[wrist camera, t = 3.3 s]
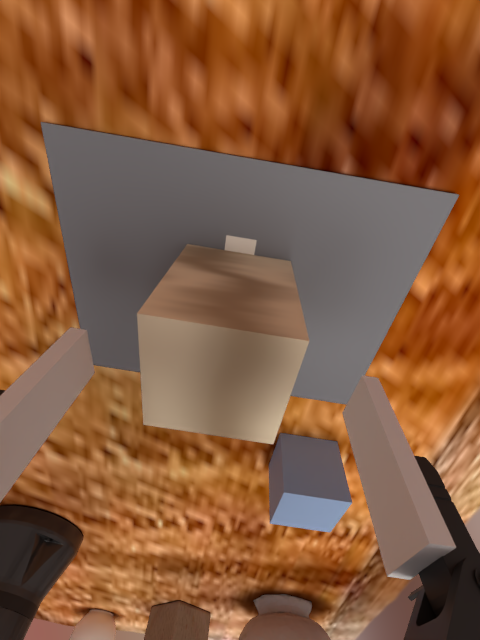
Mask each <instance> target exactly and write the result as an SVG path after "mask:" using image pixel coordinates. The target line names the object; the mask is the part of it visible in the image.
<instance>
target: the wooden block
mask: <svg viewBox="0 0 480 640" xmlns="http://www.w3.org/2000/svg"><path fill="white" fill-rule="evenodd" d="M209 623H210V613H209V612H207V611H204V610H202V609H199V608H197V607H194V606H192V605H189V604H187V603H185V602H182V601H175V602H171V603H166V604H161V605H157V606H153V607H152V608H151V612H150V616H149V620H148V625H147V629H146V633H145V637H144V640H208V632H209Z"/></svg>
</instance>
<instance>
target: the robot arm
mask: <svg viewBox="0 0 480 640" xmlns="http://www.w3.org/2000/svg"><path fill="white" fill-rule="evenodd" d="M94 373H95V372H94V366H93V361H92V355H91V350H90V345H89V339H88V334H87V330H84V329H78V328H72V327H70V328H69V329H68V330H67V331H66V332H65V333H64V334H63V335H62V336H61V337H60V338H59V339H58V340H57V341H56V342H55V343H54V344H53V345H52V346H51V347H50V348H49V349H48V350H47V351H46V352H45V353H44V354H43V355H42V356H41V357H40V358H39V359H37V360H36V361H35V362H34V363H33V364H32V365H31V366H30V367H29V368H28V369H27V370H26V371H25V372H24V373H23V374H22V375H21V376H20V377H19V378H18V379H17V380H16V381H15V382H14V383H13V384H12V385H11V386H10V387H9V388H8V389H7V390H6V391H5V390H0V502H1V501H2V500H3V498H4V497H5V495H6V494H7V493H8V491H9V490H10V489H11V487H12V486H13V484H14V483H15V482H16V480H17V479H18V478H19V476H20V475H21V473H22V472H23V471H24V469H25V468H26V467H27V465H28V464H29V462H30V461H31V460H32V458H33V457H34V456H35V454H36V453H37V451H38V450H39V449H40V447H41V446H42V445H43V443H44V442H45V440H46V439H47V438H48V436H49V435H50V434H51V432H52V431H53V429H54V428H55V427H56V425H57V424H58V423H59V421H60V420H61V418H62V417H63V416H64V414H65V413H66V412H67V410H68V409H69V407H70V406H71V405H72V403H73V402H74V401H75V399H76V398H77V396H78V395H79V394H80V392H81V391H82V390H83V388H84V387H85V385H86V384H87V383H88V381H89V380H90V379H91V377H92V376H93V374H94ZM343 417H344V421H345V424H346V428H347V432H348V435H349V439H350V443H351V446H352V450H353V453H354V457H355V461H356V464H357V468H358V472H359V475H360V479H361V483H362V486H363V490H364V494H365V497H366V501H367V505H368V508H369V512H370V515H371V519H372V523H373V526H374V530H375V534H376V537H377V541H378V545H379V548H380V552H381V556H382V559H383V563H384V567H385V570H386V574H387V576H388V577H395V578H401V579H408V580H410V579H412V578H413V577H415V576H416V575H417V574H419V575H420V578H421V581H422V584H423V585H422V586H421V587H419V588H418V589H416V590H415V591H413V592H412V593H411V594H410V595H409V597H408V598H409V599H410V600H411V601H412V600H414V599H415V598H417V599H416V602H415V605H414V609H413V612H412V615H411V618H410V621H409V624H408V628H407V631H406V634H405V637H404V640H480V553H479V552H478V550H477V548H476V547H475V544H474V542H473V541H472V539H471V537H470V535H469V533H468V531H467V529H466V527H465V525H464V523H463V521H462V519H461V517H460V515H459V513H458V511H457V509H456V507H455V505H454V503H453V502H451V497H450V495H449V493H448V491H447V490H446V489H445V486H444V484H443V482H442V480H441V478H440V476H439V474H438V472H437V470H436V469H435V468H434V467H433V466H432V465H431V463H430V462H429V461H428V460H427V459H426V458H425V457H419V456H414V455H413V452H412V450H411V448H410V446H409V444H408V442H407V439H406V437H405V435H404V433H403V431H402V429H401V426H400V424H399V422H398V420H397V418H396V416H395V413H394V411H393V409H392V407H391V405H390V403H389V400H388V398H387V396H386V394H385V392H384V390H383V387H382V385H381V383H380V381H379V379H378V378H375V377H369V376H363V375H362V377H361V379H360V381H359V382H358V384H357V386H356V388H355V390H354V392H353V394H352V396H351V398H350V400H349V401H348V403H347V405H346V407H345V409H344V411H343ZM82 541H83V536H82V534H81V532H80V531H79V530H78V529H77V528H76V527H75V526H74V525H72V524H71V523H69V522H68V521H66V520H64V519H62V518H60V517H58V516H56V515H53V514H51V513H48V512H45V511H41V510H37V509H33V508H28V507H22V506H0V640H23V639H24V637H25V635H26V633H27V631H28V629H29V627H30V625H31V622H32V620H33V618H34V616H35V614H36V612H37V610H38V608H39V606H40V604H41V602H42V600H43V599H44V597H45V596H46V595H47V593H48V592H49V591H50V589H51V588H52V587H53V585H54V584H55V583H56V581H57V580H58V579H59V577H60V576H61V575H62V574H63V572H64V571H65V570H66V568H67V567H68V566H69V564H70V563H71V562H72V560H73V559H74V558H75V556H76V554H77V552H78V550H79V547H80V545H81V543H82Z"/></svg>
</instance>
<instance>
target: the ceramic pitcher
mask: <svg viewBox="0 0 480 640" xmlns="http://www.w3.org/2000/svg"><path fill="white" fill-rule="evenodd" d="M253 601H254V603H255V606H256V608H257V610H258V613H259V614H258V616H256V617H254V618H252V619H251V620H250V621H249V622H248V623H247V624H246V626H245V627H244V629H243V631H242V633H241V634H240V637H239V640H330V638H329V636H328V634H327V633H326V632H325V631H324V629H323V628H322V627H321V626H320V625H319V624H318V623H316V622H315V621H313V620H311V619H310V618H309V614H310V612H311V608H312V603H311V601H307V600H304V599H301V598H297V597H293V596H290V595H286V594H281V595H262V596H261V597H259V598H257V599H255V600H253Z"/></svg>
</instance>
